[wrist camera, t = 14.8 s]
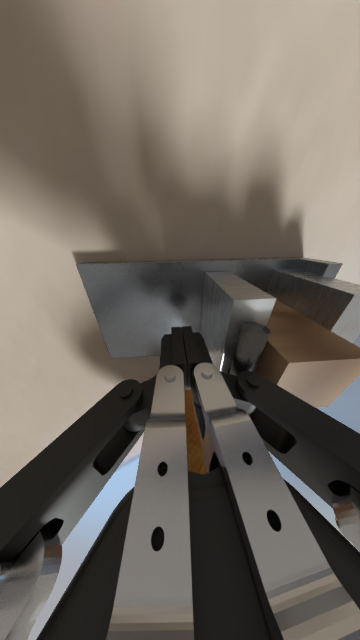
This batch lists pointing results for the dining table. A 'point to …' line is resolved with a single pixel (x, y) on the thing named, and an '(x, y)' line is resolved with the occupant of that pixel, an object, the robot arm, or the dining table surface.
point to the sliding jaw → (234, 321)
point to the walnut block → (307, 357)
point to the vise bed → (187, 296)
